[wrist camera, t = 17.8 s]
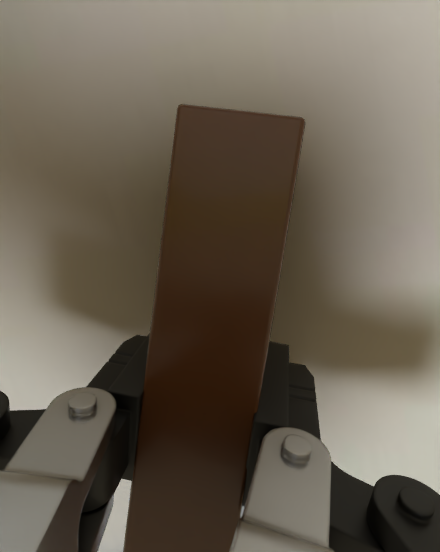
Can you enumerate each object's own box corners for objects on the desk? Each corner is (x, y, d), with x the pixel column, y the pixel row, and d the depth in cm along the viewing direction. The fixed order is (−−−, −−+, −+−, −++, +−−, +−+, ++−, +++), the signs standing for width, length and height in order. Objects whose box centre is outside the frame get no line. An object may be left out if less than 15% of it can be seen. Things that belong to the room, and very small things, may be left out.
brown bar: (200, 145, 11) (160, 100, 7) (305, 158, 11) (323, 117, 7) (130, 676, 14) (72, 856, 10) (215, 700, 13) (191, 897, 9)
